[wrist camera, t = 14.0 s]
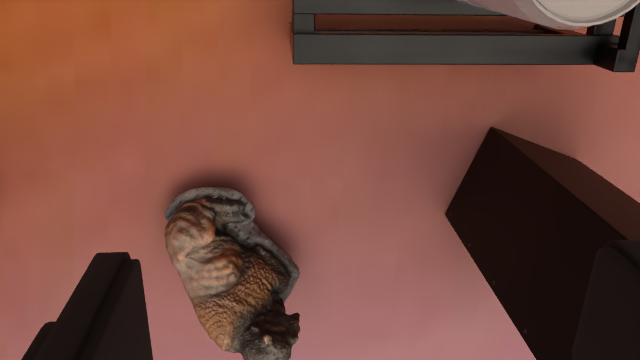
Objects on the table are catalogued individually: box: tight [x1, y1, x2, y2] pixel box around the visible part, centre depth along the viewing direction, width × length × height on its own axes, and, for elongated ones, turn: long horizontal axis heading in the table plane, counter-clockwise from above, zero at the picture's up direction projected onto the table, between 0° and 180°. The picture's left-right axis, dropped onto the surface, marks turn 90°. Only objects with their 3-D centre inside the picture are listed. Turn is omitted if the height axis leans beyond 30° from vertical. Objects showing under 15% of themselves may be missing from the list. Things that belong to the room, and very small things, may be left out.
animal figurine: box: [165, 187, 300, 360], centre depth 38 cm, size 12×7×10 cm, turn 36°
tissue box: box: [445, 127, 640, 360], centre depth 29 cm, size 8×8×28 cm
